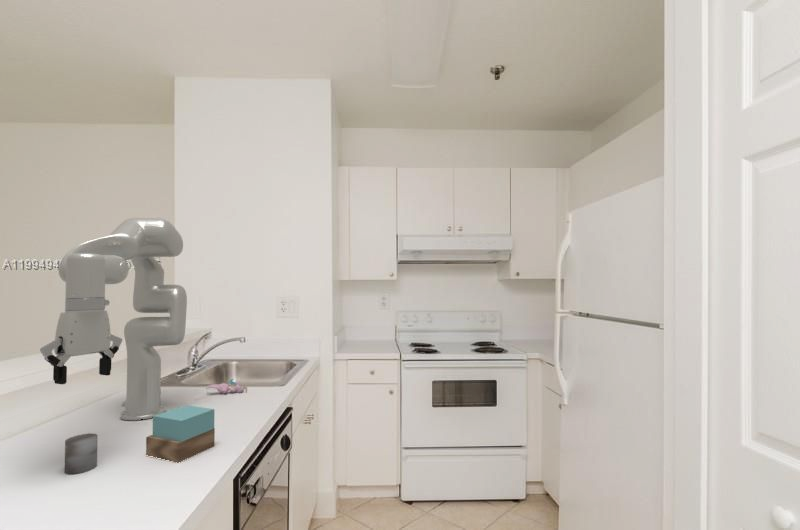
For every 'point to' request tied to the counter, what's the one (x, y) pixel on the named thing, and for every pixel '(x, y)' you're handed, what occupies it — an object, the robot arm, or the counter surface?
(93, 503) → the counter surface
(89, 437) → the charcoal cylinder
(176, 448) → the walnut base block
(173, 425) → the teal top block
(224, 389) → the pink patterned figure
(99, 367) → the robot arm
